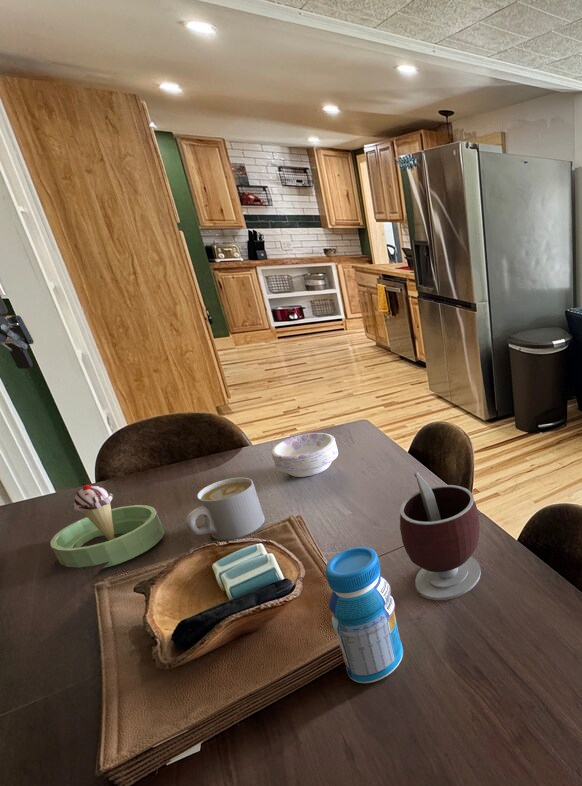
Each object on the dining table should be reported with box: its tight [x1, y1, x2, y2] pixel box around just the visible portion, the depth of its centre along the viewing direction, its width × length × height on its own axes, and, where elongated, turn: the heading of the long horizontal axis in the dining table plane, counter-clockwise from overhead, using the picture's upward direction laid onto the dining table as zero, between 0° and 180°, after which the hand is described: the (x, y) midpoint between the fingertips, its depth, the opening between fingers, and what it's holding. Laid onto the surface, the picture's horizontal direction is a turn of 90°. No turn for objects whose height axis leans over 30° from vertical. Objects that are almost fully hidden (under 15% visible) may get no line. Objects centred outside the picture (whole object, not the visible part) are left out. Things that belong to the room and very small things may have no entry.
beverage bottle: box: [325, 546, 404, 684], centre depth 71 cm, size 8×8×20 cm
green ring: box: [49, 504, 166, 569], centre depth 99 cm, size 16×16×6 cm
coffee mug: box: [185, 477, 266, 541], centre depth 104 cm, size 13×10×10 cm
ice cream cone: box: [72, 484, 116, 541], centre depth 97 cm, size 6×6×15 cm
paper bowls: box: [271, 432, 339, 478], centre depth 131 cm, size 15×15×8 cm
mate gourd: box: [399, 471, 482, 601], centre depth 89 cm, size 16×14×20 cm
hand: (7, 374), depth 94 cm, fingers open, 8 cm apart
